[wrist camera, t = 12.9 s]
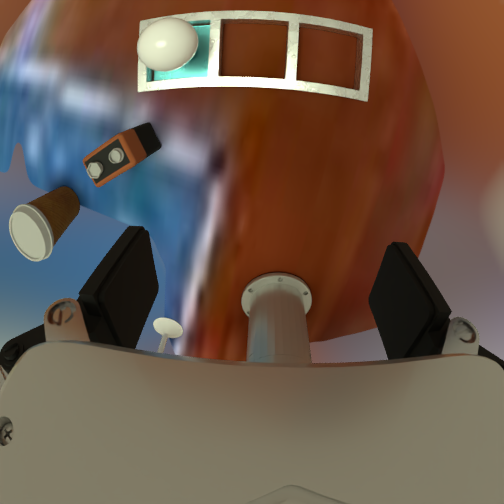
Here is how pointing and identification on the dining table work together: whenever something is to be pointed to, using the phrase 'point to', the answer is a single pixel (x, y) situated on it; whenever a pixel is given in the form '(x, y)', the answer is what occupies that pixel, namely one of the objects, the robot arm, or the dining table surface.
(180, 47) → the lightbulb
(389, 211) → the dining table surface
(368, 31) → the rail
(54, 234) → the disposable coffee cup
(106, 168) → the battery
